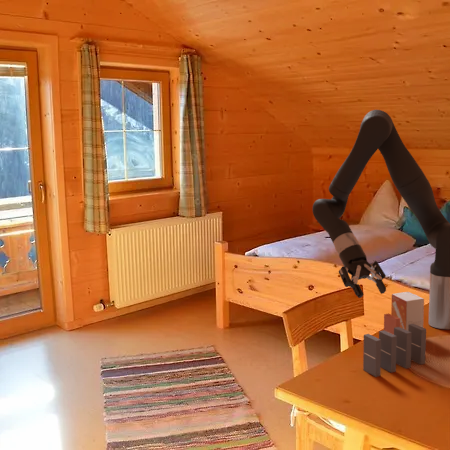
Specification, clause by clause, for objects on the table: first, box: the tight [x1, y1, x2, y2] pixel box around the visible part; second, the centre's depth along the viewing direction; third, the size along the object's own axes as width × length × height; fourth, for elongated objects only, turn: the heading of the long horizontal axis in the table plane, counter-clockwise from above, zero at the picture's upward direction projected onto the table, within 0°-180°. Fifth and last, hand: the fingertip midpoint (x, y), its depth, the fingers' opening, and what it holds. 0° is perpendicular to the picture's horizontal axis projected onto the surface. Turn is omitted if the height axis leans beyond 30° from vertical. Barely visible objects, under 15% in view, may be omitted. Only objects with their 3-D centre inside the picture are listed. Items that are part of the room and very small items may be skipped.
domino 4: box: [394, 327, 412, 370], centre depth 157 cm, size 2×5×10 cm, turn 25°
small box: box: [390, 291, 425, 331], centre depth 177 cm, size 8×6×13 cm
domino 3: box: [378, 329, 397, 373], centre depth 155 cm, size 2×5×10 cm, turn 25°
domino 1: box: [362, 333, 382, 378], centre depth 152 cm, size 2×5×10 cm, turn 25°
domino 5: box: [408, 324, 427, 365], centre depth 159 cm, size 2×5×10 cm, turn 25°
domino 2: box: [383, 313, 400, 335], centre depth 168 cm, size 2×5×10 cm, turn 25°
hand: (372, 294), depth 174 cm, fingers open, 8 cm apart
